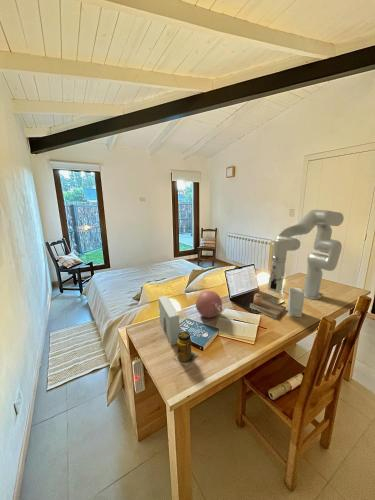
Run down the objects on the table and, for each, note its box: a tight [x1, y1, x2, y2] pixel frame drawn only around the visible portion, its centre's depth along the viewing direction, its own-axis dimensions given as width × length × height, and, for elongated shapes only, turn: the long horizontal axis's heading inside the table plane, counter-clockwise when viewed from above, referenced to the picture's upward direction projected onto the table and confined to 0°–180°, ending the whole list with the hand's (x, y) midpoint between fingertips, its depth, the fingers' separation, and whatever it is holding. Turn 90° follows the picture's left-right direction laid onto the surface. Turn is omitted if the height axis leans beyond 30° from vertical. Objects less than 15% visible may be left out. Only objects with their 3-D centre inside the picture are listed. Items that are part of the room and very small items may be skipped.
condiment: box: [173, 330, 198, 367], centre depth 93 cm, size 7×8×12 cm
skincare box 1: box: [158, 294, 181, 346], centre depth 110 cm, size 21×6×16 cm, turn 22°
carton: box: [267, 276, 284, 294], centre depth 129 cm, size 6×5×8 cm
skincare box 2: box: [286, 287, 305, 318], centre depth 127 cm, size 8×7×16 cm
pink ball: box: [195, 290, 223, 319], centre depth 123 cm, size 15×20×15 cm
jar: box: [252, 292, 263, 306], centre depth 135 cm, size 5×5×7 cm
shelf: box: [249, 297, 287, 320], centre depth 134 cm, size 15×17×3 cm
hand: (275, 287), depth 129 cm, fingers closed on carton, 4 cm apart
